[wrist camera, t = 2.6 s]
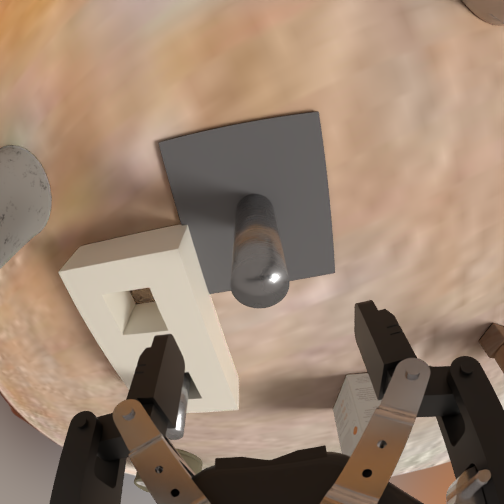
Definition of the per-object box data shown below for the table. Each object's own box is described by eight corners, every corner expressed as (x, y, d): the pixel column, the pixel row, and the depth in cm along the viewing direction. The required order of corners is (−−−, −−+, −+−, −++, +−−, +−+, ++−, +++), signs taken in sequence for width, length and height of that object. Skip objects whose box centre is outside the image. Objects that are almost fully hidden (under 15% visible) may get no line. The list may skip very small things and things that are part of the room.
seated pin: (163, 347, 33) (145, 424, 24) (189, 345, 32) (176, 424, 24) (172, 365, 34) (158, 439, 25) (197, 363, 34) (188, 439, 25)
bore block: (80, 246, 27) (58, 271, 23) (188, 222, 26) (178, 248, 22) (153, 385, 36) (147, 413, 32) (239, 378, 35) (238, 409, 31)
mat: (159, 142, 22) (158, 142, 22) (317, 111, 22) (318, 111, 21) (204, 292, 29) (203, 294, 29) (333, 270, 28) (335, 272, 28)
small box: (367, 404, 40) (385, 466, 30) (331, 408, 39) (344, 473, 30) (386, 369, 36) (411, 437, 27) (345, 373, 36) (365, 446, 26)
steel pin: (232, 197, 24) (224, 265, 16) (270, 190, 24) (285, 255, 15) (239, 232, 26) (237, 312, 17) (276, 225, 26) (292, 303, 17)
